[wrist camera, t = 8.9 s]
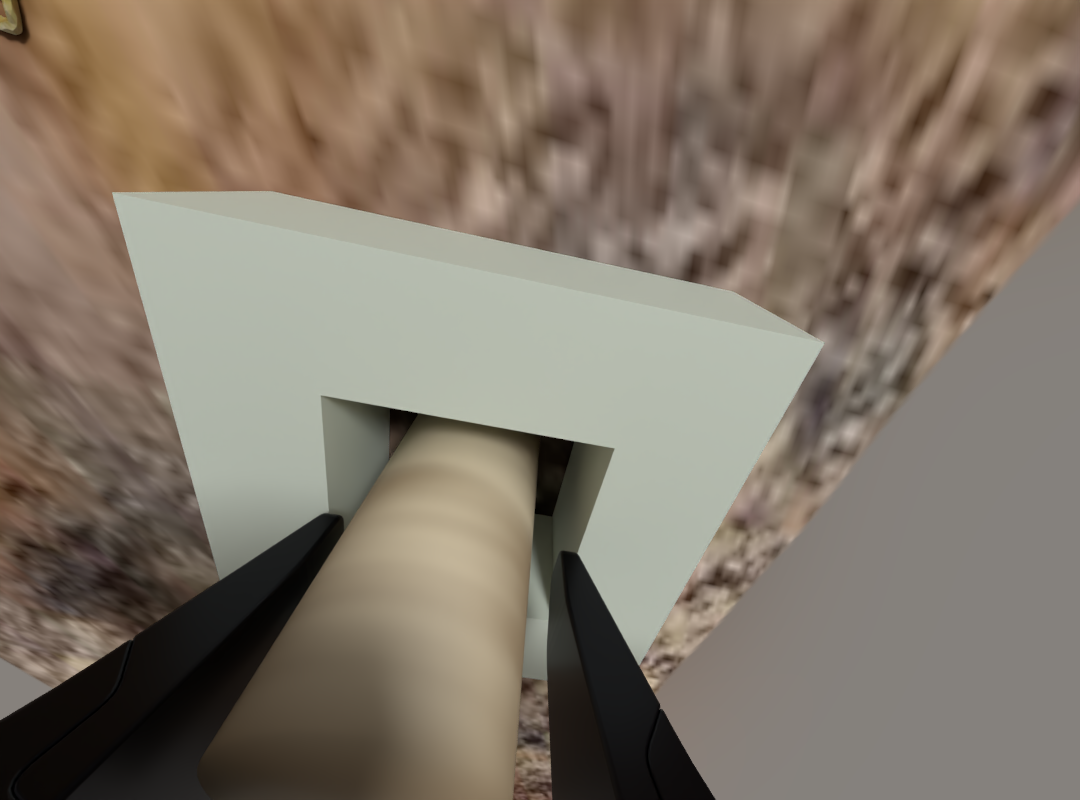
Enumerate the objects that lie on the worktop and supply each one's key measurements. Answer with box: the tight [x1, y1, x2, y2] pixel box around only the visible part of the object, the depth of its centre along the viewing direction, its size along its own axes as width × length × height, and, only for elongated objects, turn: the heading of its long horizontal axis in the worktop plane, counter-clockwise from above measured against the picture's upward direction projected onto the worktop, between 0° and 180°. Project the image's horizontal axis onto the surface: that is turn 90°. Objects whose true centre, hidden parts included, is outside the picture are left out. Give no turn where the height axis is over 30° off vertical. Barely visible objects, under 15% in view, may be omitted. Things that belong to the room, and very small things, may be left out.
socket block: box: [112, 191, 824, 680], centre depth 11 cm, size 12×12×4 cm
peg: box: [197, 413, 540, 800], centre depth 9 cm, size 4×4×9 cm
